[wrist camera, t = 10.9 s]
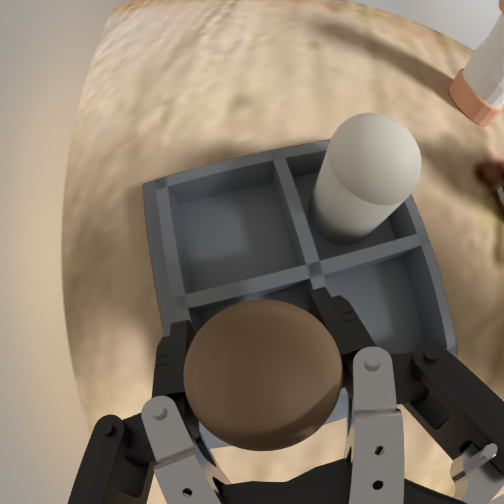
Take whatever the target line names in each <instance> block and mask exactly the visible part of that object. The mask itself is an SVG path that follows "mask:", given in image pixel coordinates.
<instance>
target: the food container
mask: <svg viewBox="0 0 504 504" xmlns="http://www.w3.org/2000/svg"><path fill="white" fill-rule="evenodd" d="M493 193H494V196H495V199H496V202H497V204H498V206H499V208H500V210H501V212H502V214H503V216H504V183H503V184H502V185H501V186H499V187H498V188H497V189H496V190H495V191H493Z"/></svg>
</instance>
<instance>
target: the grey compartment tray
mask: <svg viewBox="0 0 504 504" xmlns="http://www.w3.org/2000/svg"><path fill="white" fill-rule="evenodd" d="M329 142H330V140H327V141H320V142H314V143H308V144H302V145H296V146H291V147H285V148H280V149H275V150H270V151H265V152H260V153H256V154H251V155H247V156H242V157H238V158H234V159H229V160H225V161H221V162H217V163H213V164H209V165H206V166H202V167H198V168H194V169H191V170H187V171H184V172H180V173H177V174H173V175H170V176H166V177H163V178H160V179H157V180H154V181H150V182H147V183H144V184H143V197H144V207H145V217H146V226H147V235H148V243H149V250H150V257H151V264H152V270H153V277H154V283H155V289H156V294H157V300H158V305H159V310H160V316H161V320H162V325H163V330H164V335H165V337H166V336H170V328H171V324H172V323H174V322H179V321H184V320H189V321H190V322H191V324H192V326H193V328H194V330H195V333H196V334H197V333H198V332H199V330H200V329H201V328H202V327H203V326H204V324H205V323H206V322H207V321H208V320H210V319H211V318H212V317H213V316H215V315H216V314H217V313H219V312H221V311H222V310H224V309H226V308H228V307H230V306H232V305H235V304H238V303H241V302H245V301H251V300H262V299H267V300H277V301H282V302H287V303H289V304H292V305H295V306H297V307H299V308H302V309H304V310H305V311H307V312H308V313H309V306H308V294H307V293H308V291H310V290H314V289H318V288H321V287H326V289H327V290H328V292H329V294H330V295H331V297H334V296H338V295H340V296H342V297H343V298H345V299H346V300H348V301H349V302H350V304H351V305H352V307H353V308H354V310H355V312H356V313H357V315H358V316H359V319H360V320H361V321H362V323H363V324H364V326H365V328H366V329H367V331H368V333H369V334H370V336H371V338H372V339H373V341H374V343H375V344H376V346H377V347H379V348H382V349H384V350H385V351H387V352H388V353H391V354H401V353H410V352H414V349H415V348H416V346H418V345H419V344H420V343H422V342H425V341H434V342H437V343H439V344H441V345H442V346H443V347H444V348H446V349H447V350H448V351H449V352H450V353H451V354H452V355H453V356H455V357H456V355H458V352H457V346H456V340H455V335H454V329H453V324H452V319H451V315H450V310H449V306H448V302H447V298H446V294H445V290H444V286H443V283H442V279H441V275H440V272H439V269H438V265H437V262H436V259H435V256H434V253H433V250H432V247H431V244H430V241H429V238H428V235H427V232H426V230H425V227H424V224H423V222H422V219H421V216H420V214H419V211H418V209H417V206H416V204H415V202H414V199H413V197H412V194H410V196H409V197H408V198H407V199H406V200H405V201H404V202H403V203H402V204H401V205H400V206H399V207H398V208H396V209H395V210H394V211H393V212H392V213H391V214H390V215H389V216H388V217H387V218H386V219H385V220H384V221H383V222H382V223H381V224H380V225H379V226H378V227H377V228H375V229H374V230H373V231H372V232H371V233H370V234H369V235H368V236H367V237H366V238H365V239H363V240H362V241H360V242H358V243H356V244H353V245H338V244H334V243H332V242H330V241H328V240H326V239H324V238H323V237H322V236H321V235H320V234H319V233H318V232H317V231H316V230H315V228H314V227H313V225H312V223H311V220H310V217H309V202H310V199H311V196H312V193H313V190H314V187H315V184H316V181H317V178H318V176H319V173H320V170H321V167H322V164H323V161H324V158H325V155H326V152H327V149H328V145H329ZM347 411H348V393H347V391H346V388H343V389H341V392H340V396H339V399H338V402H337V404H336V406H335V408H334V410H333V412H332V414H331V415H330V417H329V418H328V419H327V421H326V422H325V423H324V424H327V423H331V422H334V421H337V420H340V419H343V418H346V417H347ZM324 424H323V425H324ZM199 431H200V432H201V434H202V436H203V438H204V440H205V442H206V443H207V445H208V447H209V449H211V448H219V447H226V446H232V445H230V444H228V443H226V442H224V441H222V440H220V439H219V438H217V437H215V436H214V435H213V434H212V433H210V432H209V431H208V430H207V429H206V428H205V427H204V426H203V425H202V424H201V423H200V422H199Z"/></svg>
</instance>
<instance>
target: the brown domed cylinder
mask: <svg viewBox="0 0 504 504" xmlns="http://www.w3.org/2000/svg"><path fill="white" fill-rule="evenodd" d="M183 377H184V388H185V393H186V396H187V399H188V402H189V405H190V407H191V409H192V411H193V413H194V414H195V416H196V417H197V419H198V420H199V422H200V423H201V424H202V425H203V426H204V427H205V428H206V429H207V430H208V431H209V432H210V433H212V434H213V435H214V436H215V437H217V438H219V439H220V440H222V441H224V442H226V443H228V444H230V445H232V446H235V447H238V448H241V449H246V450H252V451H273V450H279V449H283V448H287V447H290V446H293V445H295V444H297V443H300V442H301V441H303V440H305V439H307V438H308V437H310V436H311V435H312V434H314V433H315V432H316V431H317V430H318V429H319V428H320V427H321V426H322V425H323V424H324V423H325V422H326V421H327V419H328V418H329V417H330V415H331V414H332V412H333V410H334V408H335V406H336V404H337V402H338V399H339V396H340V392H341V388H342V380H343V367H342V361H341V357H340V353H339V350H338V348H337V345H336V343H335V341H334V339H333V338H332V336H331V334H330V333H329V331H328V330H327V329H326V328H325V327H324V325H323V324H322V323H321V322H320V321H319V320H318V319H316V318H315V317H314V316H313V315H311V314H310V313H308V312H307V311H305V310H304V309H302V308H299V307H297V306H295V305H292V304H289V303H287V302H282V301H277V300H267V299H262V300H251V301H245V302H241V303H238V304H235V305H232V306H230V307H228V308H226V309H224V310H222V311H221V312H219V313H217V314H216V315H215V316H213V317H212V318H211V319H210V320H208V321H207V322H206V323H205V324H204V326H203V327H202V328H201V329H200V330H199V332H198V333H197V334H196V336H195V337H194V339H193V341H192V343H191V345H190V347H189V350H188V353H187V355H186V359H185V364H184V374H183Z"/></svg>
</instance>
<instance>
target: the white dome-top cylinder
mask: <svg viewBox="0 0 504 504" xmlns="http://www.w3.org/2000/svg"><path fill="white" fill-rule="evenodd" d="M420 174H421V155H420V151H419V147H418V145H417V143H416V141H415V139H414V137H413V136H412V134H411V133H410V132H409V130H408V129H407V128H406V127H405V126H403V125H402V124H401V123H400V122H398V121H397V120H395V119H393V118H391V117H389V116H386V115H383V114H379V113H363V114H359V115H356V116H353V117H351V118H349V119H348V120H346V121H345V122H343V123H342V124H341V125H340V126H339V127H338V128H337V130H336V131H335V132H334V134H333V136H332V138H331V140H330V142H329V145H328V149H327V152H326V155H325V158H324V161H323V164H322V167H321V170H320V173H319V176H318V178H317V181H316V184H315V187H314V190H313V193H312V196H311V199H310V202H309V217H310V220H311V223H312V225H313V227H314V228H315V230H316V231H317V232H318V233H319V234H320V235H321V236H322V237H323V238H324V239H326V240H328V241H330V242H332V243H334V244H338V245H353V244H356V243H358V242H360V241H362V240H363V239H365V238H366V237H367V236H368V235H369V234H370V233H371V232H372V231H373V230H374V229H375V228H377V227H378V226H379V225H380V224H381V223H382V222H383V221H384V220H385V219H386V218H387V217H388V216H389V215H390V214H391V213H392V212H393V211H394V210H395V209H396V208H398V207H399V206H400V205H401V204H402V203H403V202H404V201H405V200H406V199H407V198H408V197H409V196H410V194H411V193H412V192H413V191H414V189H415V187H416V186H417V183H418V181H419V178H420Z"/></svg>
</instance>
